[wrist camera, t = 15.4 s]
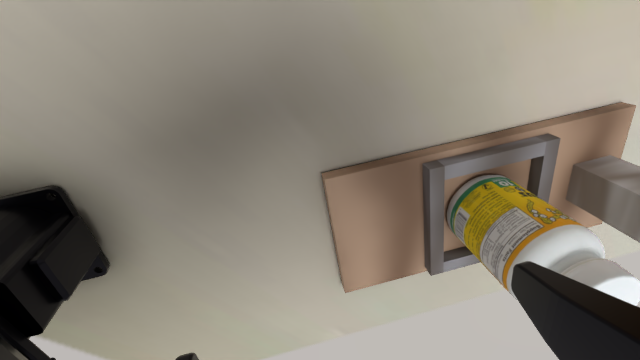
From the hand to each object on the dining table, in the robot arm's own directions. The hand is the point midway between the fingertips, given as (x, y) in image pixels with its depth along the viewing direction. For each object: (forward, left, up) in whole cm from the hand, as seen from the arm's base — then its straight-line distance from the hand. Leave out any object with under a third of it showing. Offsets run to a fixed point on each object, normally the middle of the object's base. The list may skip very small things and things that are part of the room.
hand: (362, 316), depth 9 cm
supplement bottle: (+12, -7, -12) cm, 18 cm away
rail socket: (+12, -7, -13) cm, 19 cm away
